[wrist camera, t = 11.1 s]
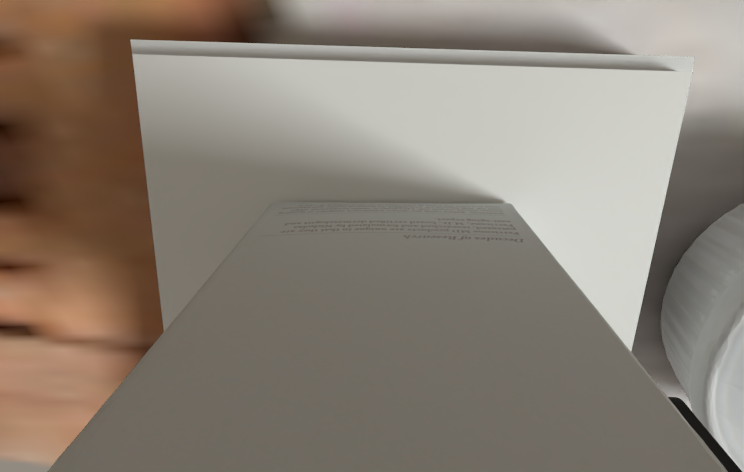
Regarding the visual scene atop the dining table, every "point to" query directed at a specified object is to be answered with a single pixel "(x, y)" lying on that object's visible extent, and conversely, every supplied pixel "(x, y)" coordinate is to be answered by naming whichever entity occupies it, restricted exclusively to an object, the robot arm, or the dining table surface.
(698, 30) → the dining table surface
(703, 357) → the ramekin
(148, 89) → the stand
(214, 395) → the supplement box
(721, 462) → the robot arm
